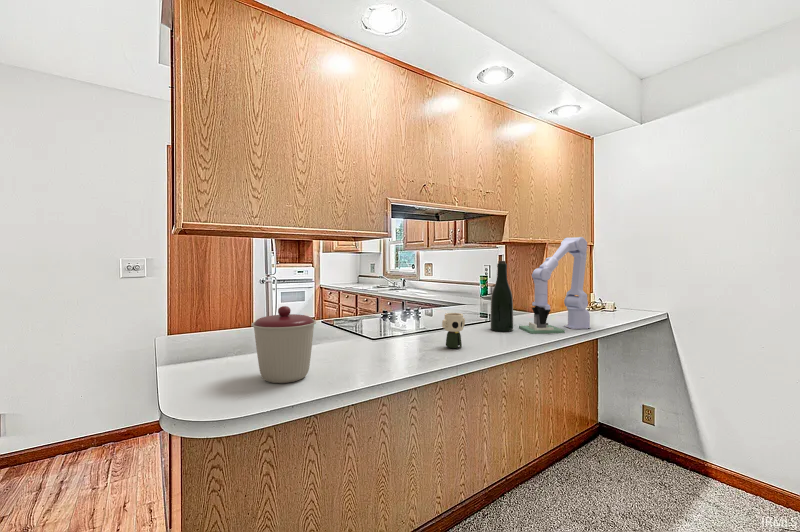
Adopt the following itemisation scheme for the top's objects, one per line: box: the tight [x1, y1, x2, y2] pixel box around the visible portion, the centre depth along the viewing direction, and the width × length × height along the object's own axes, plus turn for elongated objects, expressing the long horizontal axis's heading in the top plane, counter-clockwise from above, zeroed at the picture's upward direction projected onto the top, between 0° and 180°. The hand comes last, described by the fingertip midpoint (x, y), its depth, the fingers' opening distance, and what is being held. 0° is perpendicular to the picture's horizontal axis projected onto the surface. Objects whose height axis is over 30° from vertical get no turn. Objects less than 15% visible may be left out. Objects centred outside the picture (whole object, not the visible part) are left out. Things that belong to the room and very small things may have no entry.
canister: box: [251, 305, 317, 384], centre depth 119 cm, size 18×18×21 cm
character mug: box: [441, 312, 466, 349], centre depth 158 cm, size 11×7×13 cm, turn 122°
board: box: [518, 322, 566, 335], centre depth 193 cm, size 16×14×4 cm
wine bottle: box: [489, 260, 514, 333], centre depth 194 cm, size 10×10×33 cm
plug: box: [533, 313, 549, 328], centre depth 191 cm, size 6×4×6 cm, turn 96°
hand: (540, 323), depth 191 cm, fingers closed on plug, 4 cm apart
